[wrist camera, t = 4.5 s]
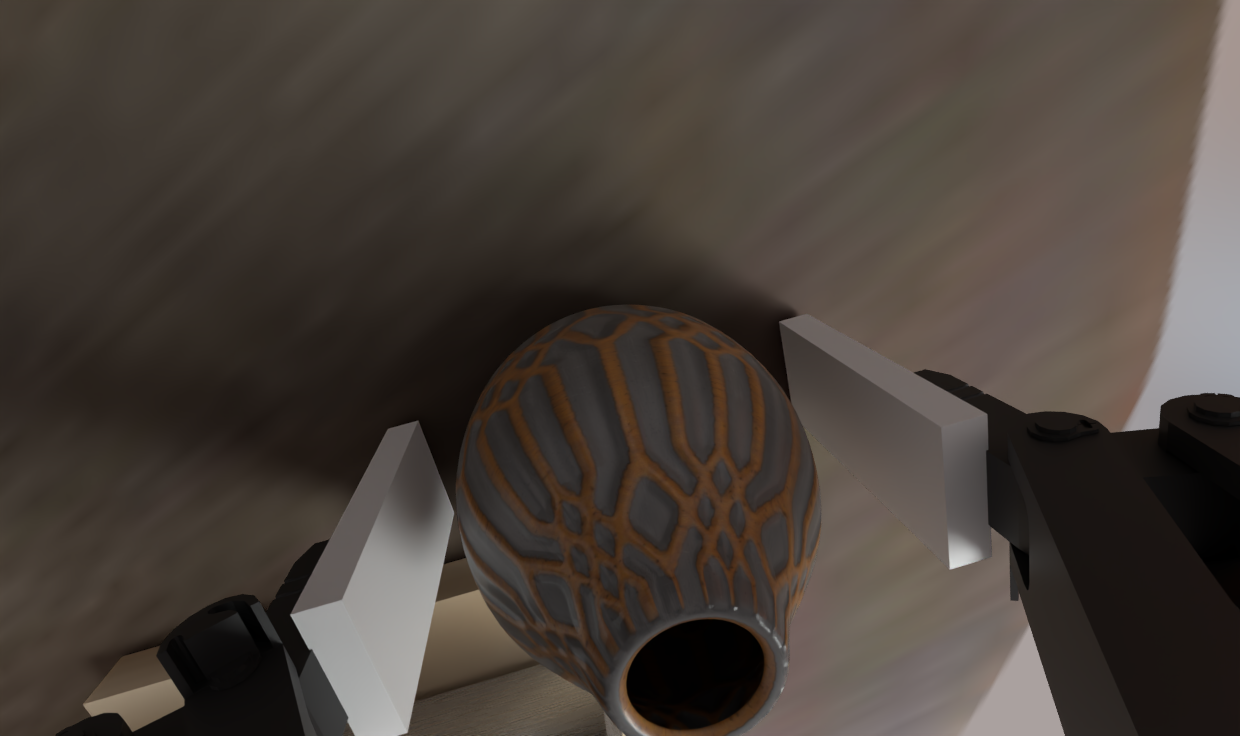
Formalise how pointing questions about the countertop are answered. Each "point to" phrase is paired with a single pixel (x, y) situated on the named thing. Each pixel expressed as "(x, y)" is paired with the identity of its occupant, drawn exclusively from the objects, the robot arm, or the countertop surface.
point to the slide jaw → (511, 709)
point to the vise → (453, 659)
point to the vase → (643, 516)
